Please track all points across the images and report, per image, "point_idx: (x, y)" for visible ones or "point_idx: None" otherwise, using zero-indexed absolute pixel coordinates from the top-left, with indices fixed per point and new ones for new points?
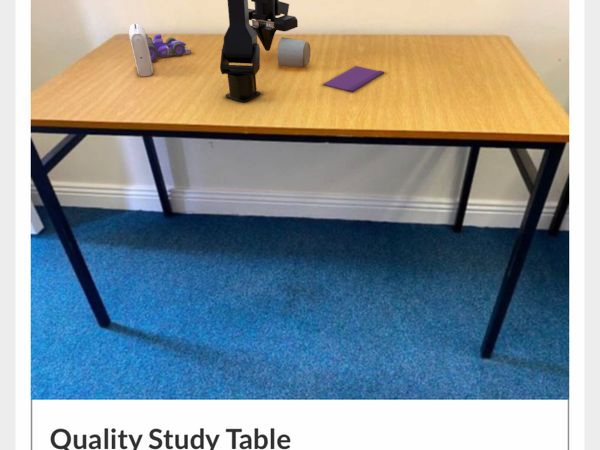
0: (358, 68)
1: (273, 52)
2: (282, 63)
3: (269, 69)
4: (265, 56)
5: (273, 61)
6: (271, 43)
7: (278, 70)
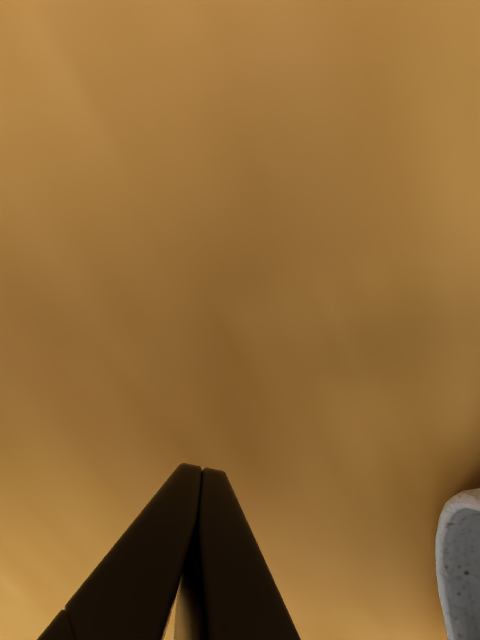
0: None
1: (138, 146)
2: None
3: (350, 621)
4: (125, 342)
5: (303, 457)
6: (261, 565)
7: (439, 619)
